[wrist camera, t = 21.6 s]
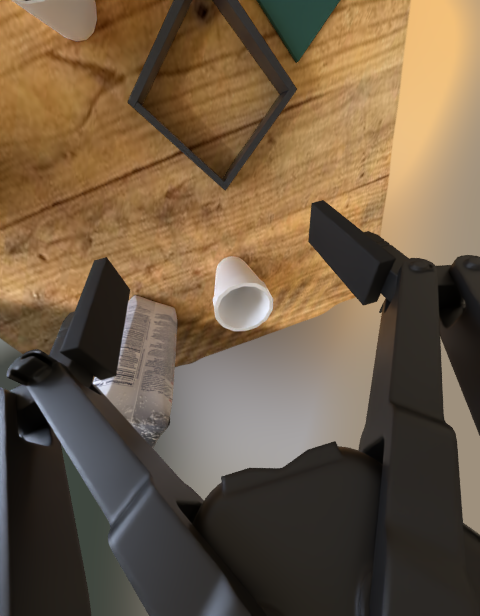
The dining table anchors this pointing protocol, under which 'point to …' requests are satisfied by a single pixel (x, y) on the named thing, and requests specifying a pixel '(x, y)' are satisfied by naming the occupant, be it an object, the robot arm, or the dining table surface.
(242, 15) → the square frame
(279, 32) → the mat
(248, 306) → the foam cup
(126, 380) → the juice carton
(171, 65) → the dining table surface
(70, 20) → the white coffee cup
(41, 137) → the dining table surface
